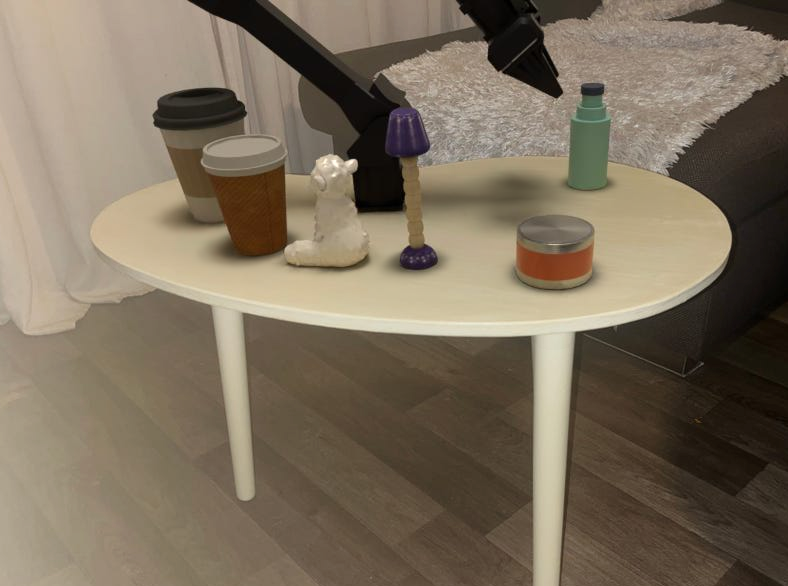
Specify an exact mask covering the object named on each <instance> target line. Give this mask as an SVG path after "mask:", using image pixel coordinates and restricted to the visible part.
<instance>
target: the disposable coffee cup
mask: <svg viewBox="0 0 788 586" xmlns="http://www.w3.org/2000/svg"><path fill="white" fill-rule="evenodd" d="M287 157H288V150H287V149H286V148H285V147H284V145H283V141H282V139H281V138H279V137H278V136H274V135H271V134H260V133H252V134H245V135H239V136H232V137H227V138H223V139H219V140H216V141H213V142H211V143H209V144H207V145H206V146H205V147H204V148H203V158H202V159H201V165H202V166H203V167H204V168H205V171H206V172H208V175H209V177H210V180H211V183H212V186H213V189H214V192H215V195H216V198H217V200H218V203H219V206H220V209H221V212H222V215H223V217H224V220H225V222H224V223H225V226H226V229H227V231H228V235H229V237H230V240H231V243H232V246H233V248H234V251H235V252H236V253H238V254H240V255H244V256H264V255H269V254H272V253H275V252H277V251H280V250H282V249H283V248H286V247H287V245H288V220H287V192H286V191H287V189H286V186H287V185H286V161H287Z"/></svg>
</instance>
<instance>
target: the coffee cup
mask: <svg viewBox="0 0 788 586" xmlns="http://www.w3.org/2000/svg"><path fill="white" fill-rule="evenodd" d="M236 94H237V93H236V92H235V91H234V90H233V89H230V88H226V87H196V88H188V89H182V90H176V91H173V92H169V93H166V94H164V95H162V96H160V97H159V98H158V99H157V100H156V103H157V104H156V106H157V109H156V110H155V111H154V112H153V113H152V118H153V122H152V124H153V126H154V128H158V129H159V132H160V133H161V137H162V139H163V142H164V144H165V146H166V147H165V148H166V150H167V152H168V155H169V158H170V160H171V163H172V166H173V168H174V171H175V173H176V176H177V179H178V182H179V184H180V188H181V190H182V192H183V195H184V198H185V200H186V204H187V206H188V207H189V211H190V213H191V214H192V215H193V218H194V220H196V221H198V222H200V223H205V224H208V223H209V224H217V223H218V224H219V223H225V220H224V217H223V215H222V212H221V209H220V206H219V203H218V200H217V198H216V195H215V192H214V189H213V186H212V183H211V180H210V177H209V175H208V172H206V171H205V168H204V167H203V166H202V165H201V159H202V158H203V148H204V147H205V146H206V145H207V144H209V143H211V142H213V141H216V140H219V139H223V138H227V137H232V136H239V135H246V131H245V118H246V117H247V115H248V113H249V112H247V110H246V104H244V102H243V101H241V100H238V97H237V95H236Z"/></svg>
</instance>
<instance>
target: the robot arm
mask: <svg viewBox="0 0 788 586" xmlns="http://www.w3.org/2000/svg"><path fill="white" fill-rule="evenodd" d="M186 1H188V2H189V3H191V4H192V5H195V6H196V7H198V8H199V9H201V10H203V11H205V12H206V13H208V14H210V15H211V16H214V17H217V18H219V19H222V20H224V21H227V22H229V23H232V24H234V25H237V26H239V27H241V28H242V29H243V30H245V31H246V32H247V33H248V34H249V35H250V36H252V37H253V38H254V39H256V40H257V41H258V42H260V43H261V44H262V45H263V46H264V47H266V49H268V50H269V51H271V52H272V53H273V54H275V56H277V57H278V58H279V59H280V60H281V61H283V62H285V64H286V65H288V66H289V67H291V68H292V69H293V70H294V71H295V72H297V73H298V74H299V75H300V76H302V77H303V78H305V80H307V81H308V82H309V83H311V84H312V85H313V86H314V87H315V88H316V89H318V90H319V91H321V92H322V93H323V94H324V95H325V96H327V98H329V99H330V100H331V101H333V102H334V103H335V104H336V105H337V106H338V107H339V108H340V111H342V114H344V116H345V118H346V119H347V121H348V122H349V124H350V125H351V127H352V128H353V129H354V130H355V132H357V133H356V135H355V136H354V138H353V140H352V142H351V144H349V147H348V149H347V150H346V152H345V153H346V156H347V158H348V160H351V159H356V160H357V163H358V167H357V170H356V171H355V172H353V173H352V174H351V175H352V176H351V177H352V178H351V179H352V186H353V187H352V188H353V195H354V203H355V207H356V208H357V212H363V211H365V212H366V211H396V210H397V211H401V210H403V209H404V205H405V195H406V193H405V191H404V181H405V180H404V178H403V175H402V169H403V165H402V163H401V157H393V156H390V155H388V154H387V153H386V151H385V143H386V135H387V128H388V121H389V116H390V113H391V112H392V111H393V110H395V109H399V108H413V106H412V105H411V103H410V101H409V100H408V99H407V98H406V95H407V92H406V91H405V90H402V89H400V88H398V87H396V86H395V85H394V84H393V83H392V82H391V81H390V79H388V77H387V76H386V75H385V74H383V72H379V74H378V75H377V76H376V78H375V79H374V80H372V79H370V78H368V77H364V76H363V75H361V74H359V73H357V72H356V71H355V70H354V69H352V68H351V67H350V66H349V65H347V63H345V62H344V61H343V60H341V59H340V58H339V56H337V55H335V54H334V53H333V52H331V50H329V49H328V48H327V47H326V46H325V45H323V44H322V43H321V42H320V41H318V40H317V39H316V38H314V36H312V35H311V34H310V33H309V32H307V31H306V30H305V29H303V28H302V27H301V26H300V25H299V24H298V23H297V22H295V21H294V20H293V19H292V18H290V17H289V16H288V15H287V14H286V13H284V12H283V10H281V9H279V8H278V7H277V6H276V5H275V4H273V3H272V2H271V1H270V0H186ZM455 2H456V3H457V4H458V6H459V7H458V10H460V12H461V13H462V14H463V16H466V15H467V16H468V18H469V19H470V20H471V21H472V23H473V24H474V25H475V26H476V27H477V28H478V30H479V31H480V32H481V34H482V38H483V40H484V42H486V43H487V57H486V58H487V59H486V60H487V61H488V62H489V64H490V65H491V66H492V67H493V68H494V69H495V71H496V72H497V73H500V72H501V74H502V75H504V76H508V77H511V78H513V79H514V80H516V81H519V82H521V83H524V85H525V84H526V85H527V86H530V87H531V88H533V89H535V90H537V91H539V92H541V93H542V94H543V93H544V94H545V95H547V96H550V97H552V98H553V99H559V98H560V97H562V95H563V94H564V90H563V88H562V86H561V84H560V82H559V80H558V78H559V77H560V73H559V71H558V68H557V66H556V64H555V63H554V60H553V59H552V57H551V55H550V53H549V51H548V49H547V47H546V45H545V43H544V42H545V31H544V29H543V27H542V26H541V20H542V19H541V18H542V16H541V13H540V12H539V7H538V6H537V5H536V4H535V2H534V1H533V0H455ZM533 14H534V15H533Z"/></svg>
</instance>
